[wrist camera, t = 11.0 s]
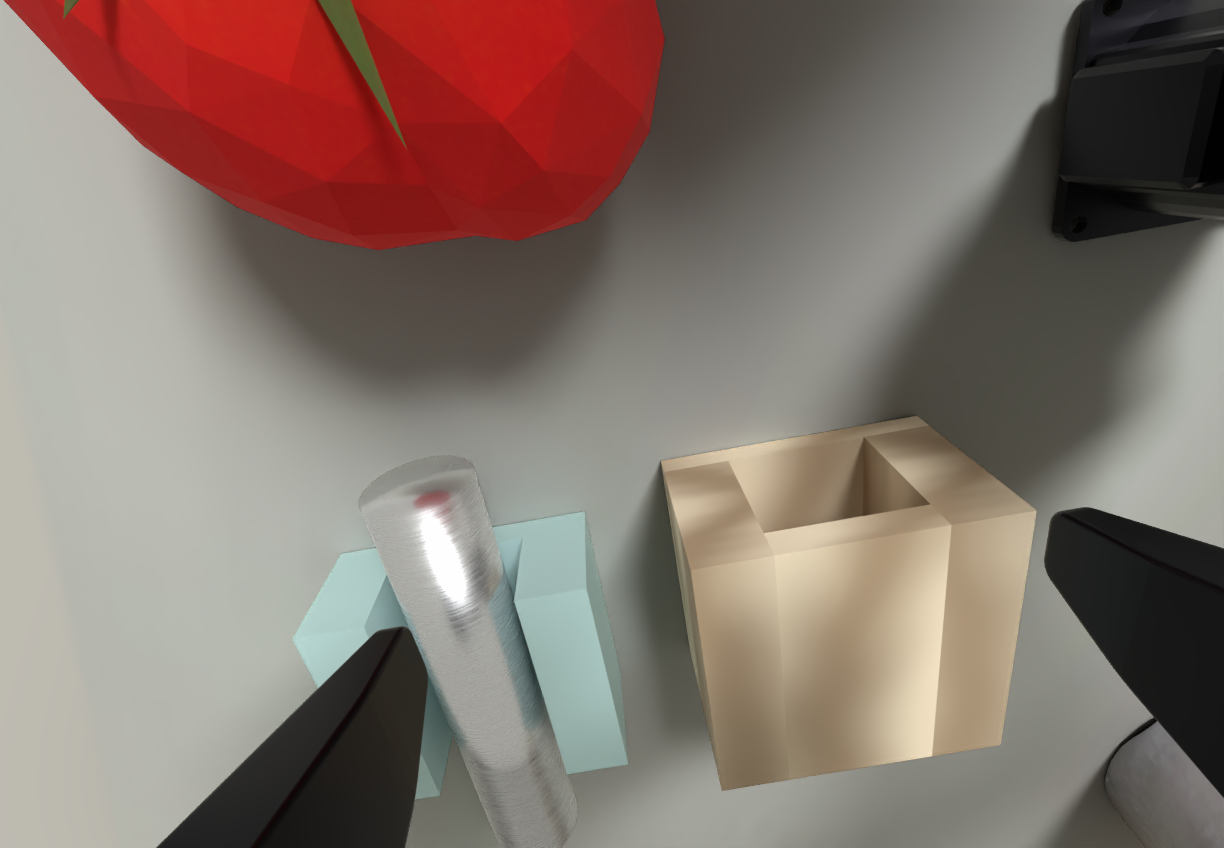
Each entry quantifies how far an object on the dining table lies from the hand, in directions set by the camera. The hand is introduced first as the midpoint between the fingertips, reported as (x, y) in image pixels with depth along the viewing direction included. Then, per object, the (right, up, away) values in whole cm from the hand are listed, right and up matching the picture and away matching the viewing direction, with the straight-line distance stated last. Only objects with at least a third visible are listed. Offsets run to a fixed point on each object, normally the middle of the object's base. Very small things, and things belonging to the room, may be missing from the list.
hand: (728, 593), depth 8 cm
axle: (-6, -6, +14) cm, 17 cm away
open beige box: (+5, -2, +14) cm, 16 cm away
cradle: (-6, -5, +15) cm, 17 cm away
